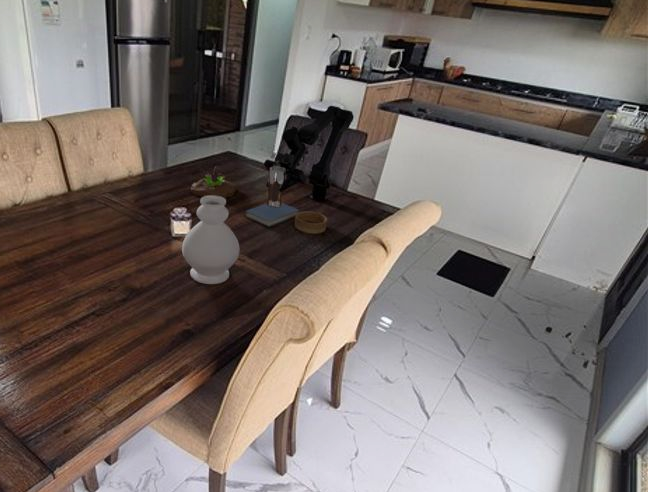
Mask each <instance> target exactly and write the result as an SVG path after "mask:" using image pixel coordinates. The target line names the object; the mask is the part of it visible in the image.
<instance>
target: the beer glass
mask: <svg viewBox="0 0 648 492" xmlns="http://www.w3.org/2000/svg"><path fill="white" fill-rule="evenodd" d="M279 166H280V165H277V166H273V167H270V171H268V176H267V181H268V187H267V191H268V193H267V194H268V196H267V201H266V204H267V206H269V207H272V208H279V207H281V203H282V196H283V192H284V191H283V192H280V189H281V187H282V186H283V184H284V182H285V181H286V179H287V174H286V168H284V167H279Z"/></svg>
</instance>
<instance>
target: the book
mask: <svg viewBox="0 0 648 492" xmlns="http://www.w3.org/2000/svg"><path fill="white" fill-rule="evenodd" d="M299 212H300V209H298V208H295V207H293V206H291V205H288V204H286V203H283V202H281V207H279V208H272V207H269V206H267V203H264V204H261V205H258V206H255V207H253V208H250V209H247V210H245V215H244V217H246V218H247V219H250V220H252V221H255V222H257V223H258V224H261V225H264V226H266V227H268V228H270V227H273V226H276V225H278V224H281V223H283V222H286V221H287V220H291V219H293V218H295V217H296V214H297V213H299Z"/></svg>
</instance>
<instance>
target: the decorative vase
mask: <svg viewBox="0 0 648 492" xmlns="http://www.w3.org/2000/svg"><path fill="white" fill-rule="evenodd" d="M199 203H200V205H199V206H198V208H197V209H196V216H197V218H198V219H199V220H200V221H199V222H198V223H196V224H195V225H194V226H193V227H192V228H191V229H190V230H189V231H188V232H187V234H186V235H185V237H184V239H183V241H182V245H181V252H182V256H183V258H184V260H185V261H186V262H187V264H188V265H189V267H191V268H190V271H189V276H190V277H191V278H192V280H194V281H195V282H197V283H199V284H203V285H204V284H205V285H219V284H221V283H224V282H226V281H227V280H228V279H229V277H230V271H229V269H230V268H231V267H232V266H233V265H234V264H235V263H236V262H237V261H238V259H239V256H240V243H239V240H238V238H237V236H236V235H235V233H234V232H233V230H232V229H231V228H230V227H229V226H228V225H227V224H226V223H225V221H226V220H227V219H228V218H229V213H230V212H229V210H228V208H227V207H226V205H227V199H224V198H223V197H220V196H214V195H209V196H201V198H200V200H199Z"/></svg>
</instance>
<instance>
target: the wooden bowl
mask: <svg viewBox="0 0 648 492" xmlns="http://www.w3.org/2000/svg"><path fill="white" fill-rule="evenodd" d="M328 221H329V219H328V217H327V216H326V215H325V214H322V213H320V212H317V211H309V210H308V211H307V210H305V211H298V213H297V214H296V216H295V217H294V224H293V226H294V228H295V229H296V230H298V231H300V232H303V233H307V234H314V235H315V234H322V233H324V232H325V231H326V229H327V225H328Z"/></svg>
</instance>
